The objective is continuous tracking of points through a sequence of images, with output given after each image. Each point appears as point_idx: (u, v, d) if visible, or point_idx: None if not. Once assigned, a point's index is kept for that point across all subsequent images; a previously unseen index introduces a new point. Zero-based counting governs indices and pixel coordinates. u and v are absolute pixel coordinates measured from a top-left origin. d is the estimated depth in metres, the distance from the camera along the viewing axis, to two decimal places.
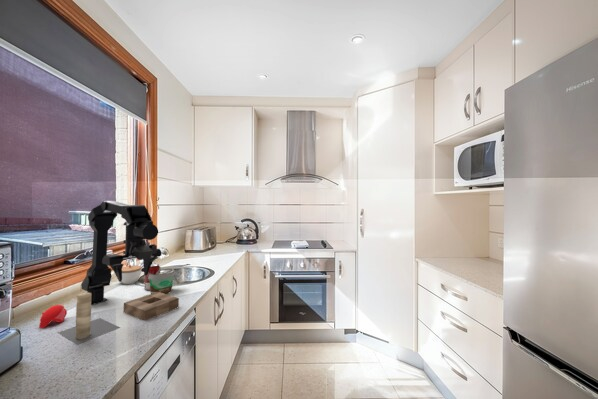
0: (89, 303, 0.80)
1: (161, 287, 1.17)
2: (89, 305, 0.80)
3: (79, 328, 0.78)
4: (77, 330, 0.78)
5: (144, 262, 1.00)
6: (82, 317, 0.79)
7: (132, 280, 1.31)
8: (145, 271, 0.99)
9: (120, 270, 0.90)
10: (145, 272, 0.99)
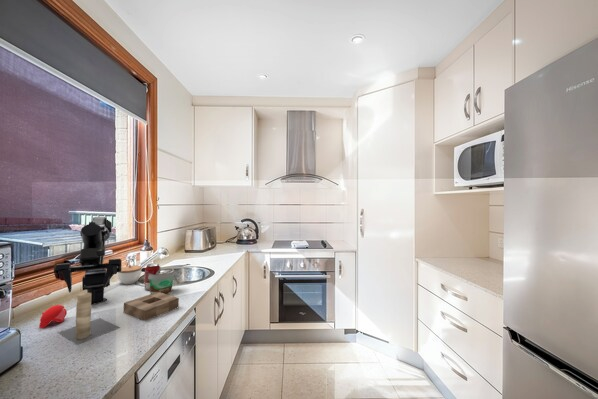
0: (89, 303, 0.80)
1: (161, 287, 1.17)
2: (89, 305, 0.80)
3: (78, 328, 0.78)
4: (77, 330, 0.78)
5: None
6: (82, 317, 0.79)
7: (132, 280, 1.31)
8: (103, 283, 0.90)
9: (68, 278, 0.85)
10: (103, 284, 0.89)
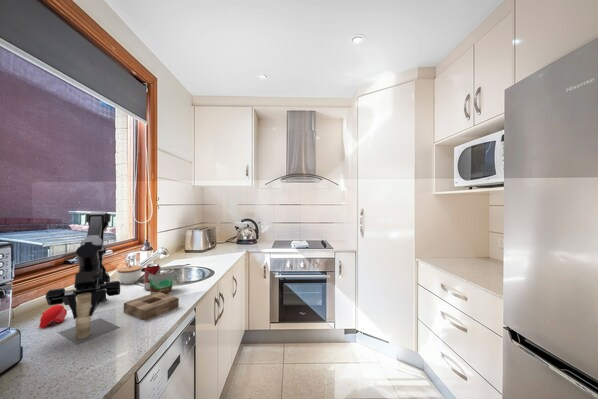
0: (89, 303, 0.80)
1: (161, 287, 1.17)
2: (89, 305, 0.80)
3: (79, 328, 0.78)
4: (77, 330, 0.78)
5: None
6: (82, 317, 0.79)
7: (132, 280, 1.31)
8: None
9: (73, 303, 0.79)
10: None
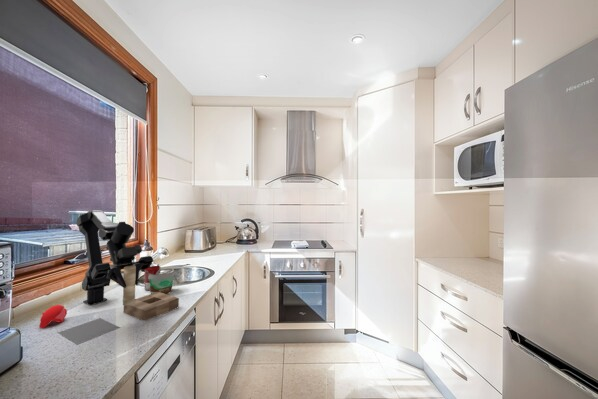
0: (135, 274, 0.92)
1: (161, 287, 1.17)
2: (135, 275, 0.92)
3: (128, 295, 0.89)
4: (126, 297, 0.89)
5: None
6: (131, 286, 0.90)
7: None
8: (135, 280, 0.92)
9: (119, 275, 0.89)
10: (135, 281, 0.92)
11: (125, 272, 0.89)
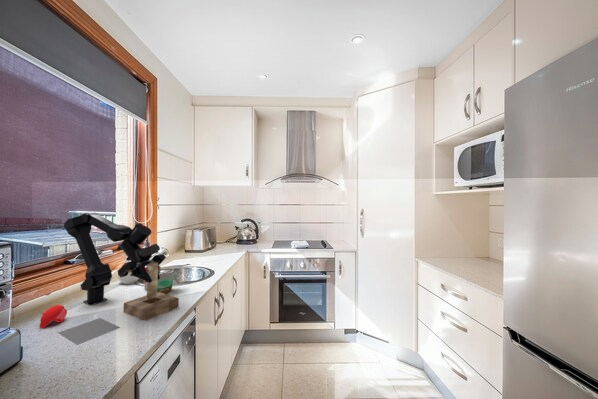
0: None
1: (161, 287, 1.17)
2: None
3: (153, 289, 1.00)
4: (152, 291, 0.99)
5: None
6: (155, 280, 1.00)
7: (132, 280, 1.31)
8: None
9: (144, 271, 0.99)
10: None
11: (150, 268, 0.99)
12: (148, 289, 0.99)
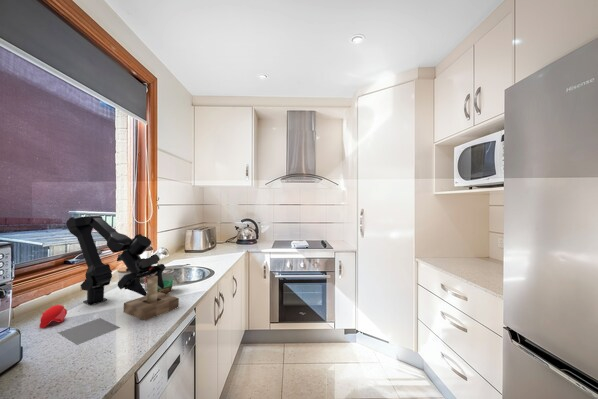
0: None
1: None
2: None
3: (153, 302, 1.00)
4: None
5: None
6: (155, 293, 1.00)
7: None
8: (160, 284, 1.05)
9: (139, 284, 0.96)
10: (161, 285, 1.05)
11: (150, 282, 0.99)
12: (148, 303, 0.99)
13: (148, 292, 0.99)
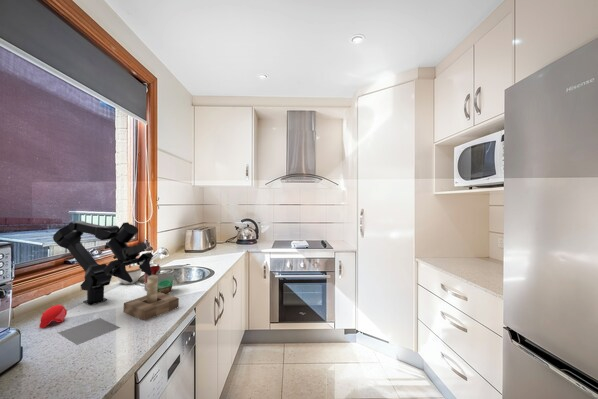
0: None
1: (161, 287, 1.17)
2: None
3: (153, 302, 1.00)
4: None
5: (142, 268, 1.08)
6: (155, 293, 1.00)
7: None
8: (148, 272, 1.07)
9: (125, 271, 0.98)
10: (149, 273, 1.07)
11: (150, 282, 0.99)
12: (148, 303, 0.99)
13: (148, 292, 0.99)
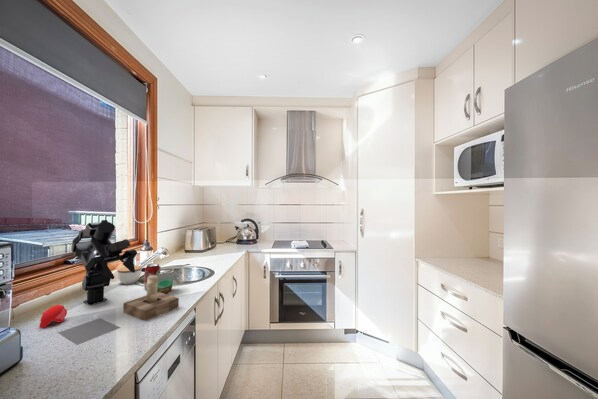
0: None
1: (161, 287, 1.17)
2: None
3: (153, 302, 1.00)
4: None
5: (126, 265, 1.08)
6: (155, 293, 1.00)
7: (132, 280, 1.31)
8: (131, 269, 1.07)
9: (107, 267, 0.98)
10: (132, 269, 1.07)
11: (150, 282, 0.99)
12: (148, 303, 0.99)
13: (148, 292, 0.99)
